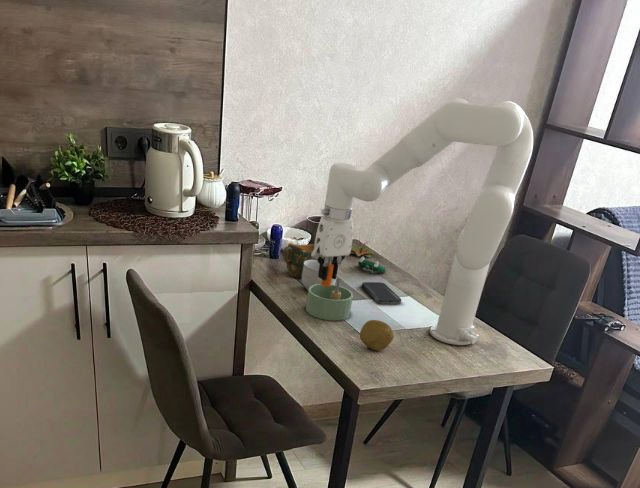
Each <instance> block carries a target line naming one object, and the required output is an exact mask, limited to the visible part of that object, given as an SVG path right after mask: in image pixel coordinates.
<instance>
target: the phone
mask: <svg viewBox="0 0 640 488" xmlns="http://www.w3.org/2000/svg"><path fill="white" fill-rule="evenodd" d="M361 288H362V289H363V290H364V291H365V292H366V293H367V294H368V295H369V296H370V297H371V298H372V299H373V300H374V301H375V302H376V303H377V304H379V305H400V304H401V303H402V298H401V297H400V296H398V295H397V293H396V292H394V291H393V290H392V289H391V288H390V287H389V286H388V285H387V284H386V283H384V282H380V281H379V282H377V281H373V282H371V281H365V282H364V281H363V282H362V283H361Z"/></svg>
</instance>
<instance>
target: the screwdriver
mask: <svg viewBox="0 0 640 488" xmlns="http://www.w3.org/2000/svg"><path fill="white" fill-rule="evenodd" d="M327 267H328V273H327V279H326V280H322V281H321V285H322V286H325V287H329V286H331V281H332V274H333V268H334V265H333V264H331V257H329V260H328V263H327Z"/></svg>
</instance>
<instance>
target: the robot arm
mask: <svg viewBox="0 0 640 488" xmlns="http://www.w3.org/2000/svg"><path fill="white" fill-rule="evenodd" d="M454 142H455V143H463V144H471V145H472V144H474V145H482V146H483V145H484V146H493V147H496V150H495V153H494V156H493V159H492V161H491V164H490V166H489V168H488V171H487V174H486V177H485V178H484V181H483V183H482V186H481V187H480V189H479V191H478V193H476V194H477V195H476V196H475V199H474V203H473V206H472V208H471V211H470V213H469V216H468V219H467V221H466V223H465V226H464V227H463V229H462V230H461V232H460V234H459V236H458V239H457V243H456V246H455V247H456V248H455V253H454V255H453V260H452V264H451V265H452V266H451V268H450V271H449V277H448V279H447V283H446V287H445V291H444V295H443V300H442V304H441V307H440V312H439V315H438V319H437V323H435V324H433V325H432V326H431V327H429V328H430V329H429V334H430V335H431V336H432V338H434V339H436V340H437V341H440V342H442V343H445V344H448V345H453V346H467V345H471V344H472V345H475V344H476V343H477V341H478V340H479V339H480V337H481V336H480V335H479V334H477V333H475V329H476V327H475V326H474V325H473V324H474V321H475V318H476V314H477V310H478V307H479V303H480V299H481V297H482V292H483V290H484V286H485V283H486V280H487V276H488V272H489V269H490V265H491V262H492V260H493V259H494V257H495V254H496V252H497V250H498V248H499V245H500V243H501V241H502V239H503V237H504V235H505V232H506V230H507V228H508V226H509V223H510V221H511V218H512V216H513V214H514V213H513V212H514V205H515V199H516V195H517V193H518V191H519V188H520V186H521V183H522V181H523V179H524V176H525V173H526V171H527V168H528V166H529V164H530V160H531V157H532V153H533V147H534V131H533V127H532V123H531V121H530V119H529V117H528V115H527V114H526V112H525V111H524V110H523V108H521V106H519V105H518V104H517V103H515V102H513V101H509V100H508V101H507V100H506V101H501V102H499V103H497V104H496V105H494V104H493V105H492V104H491V105H490V104H478V103H471V102H469V101H467V100H466V99H464V98H461V97H454V98H452V99H450V100H447V101H446V102H445V103H444V104H442V105H441V106H440V107H438V108H437V109H436V110H435V111H433V113H431V114H430V115H428V117H426V118H425V119H424V120H422V121H421V122H420V123H419V124H418V125H416V126H415V127H414V128H412V129H411V130H410V131H408V132H407V133H406V134H405V135H404V136H403V137H402V138H401V139H400V140H399V141H398V142H397V143H395V145H394V146H392V147H391V148H390V149H388V151H386V152H385V153H383V155H381V156H380V157H379V158H378V159H376V160H375V161H373V162H372V163H371V164H369V166H367V167H366V168H365V169H364V170H358V168H357V166H355V165H353V164H351V163H345V162H337V163H336V162H335V163H333V164H332V165H331V166H330V169H329V174H328V179H327V187H326V193H325V200H324V207H323V208H321V210H320V213H321V215H322V216H321V217H320V220H319V222H318V226H317V230H316V234H315V239H314V243H313V244H314V250H313V252H312V254H311V257H313V258H315V259H316V260H317V261H318V263H319V264H320V266H319V272H318V277H319V278H321V279H322V280H326V279H327V273H328V267H327V263H328V258H329V257H332V262H331V264H333V265H334V268H333V274H332V278H333V279H336V280H337V278H338V274H337V272H338V273H339V271H338V268H339V267H340V266H341V265H342V261H344V259H345V258H347V257H348V256H350V255H351V253H350V251H352V250H351V246H352V245H353V236H354V219H353V218H352V213H353V206H354V200H355V199H358V200H360V201H363V202H373V201H376V200H378V199H379V198H380V197H381V196H382V194H383V193H384V191H385V190H387V189H388V188H389V187H390V186H392V185H393V184H395V182H396V181H398V180H399V179H400V178H402V177H403V176H405V175H406V174H407V173H409V172H410V171H413V170H414V169H417V168H419V167H421V166H423V165H425V164H426V163H428V162H429V161H430V160H431V159H433V158H434V157H436V156H437V155H439V154H440V153H441V152H442V151H443V150H445V149H446V148H447V147H449V146H450V145H451V144H452V143H454ZM352 247H353V246H352ZM319 253H320V255H318V254H319ZM323 258H324V260H323ZM336 277H337V278H336Z"/></svg>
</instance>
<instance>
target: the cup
mask: <svg viewBox="0 0 640 488" xmlns="http://www.w3.org/2000/svg"><path fill="white" fill-rule="evenodd" d="M314 244H315V243H311V244H297V243H292V242H289V243H288V244H287V246H285V247H284V248H283V249H282V253H281V254H282V258H283V261H284V262H285V264H286V269H287V271H288V273H289V275H290V276H291V277H294V278H297V279H302V272H303V266H304V262H305V261H307V260H316V259H315V258H313V257H311V254H312V252H313V250H314ZM318 255H320V253H319V254H318ZM323 260H324V258H323ZM328 260H329V258H328ZM331 262H332V257H331Z"/></svg>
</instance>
